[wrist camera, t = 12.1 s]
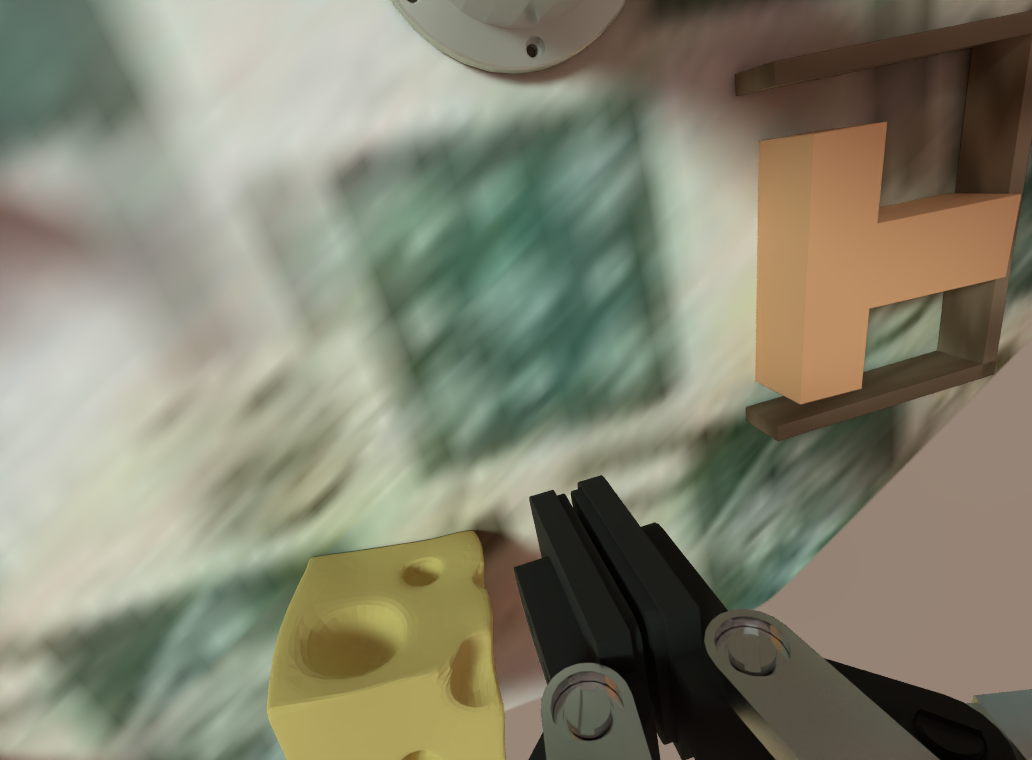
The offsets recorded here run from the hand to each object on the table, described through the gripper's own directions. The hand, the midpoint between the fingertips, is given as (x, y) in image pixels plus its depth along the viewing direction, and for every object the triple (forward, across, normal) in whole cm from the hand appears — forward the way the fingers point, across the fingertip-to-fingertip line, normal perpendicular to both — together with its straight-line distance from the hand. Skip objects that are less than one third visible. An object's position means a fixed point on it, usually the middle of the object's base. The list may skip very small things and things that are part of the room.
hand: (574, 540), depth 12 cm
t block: (+18, -24, +1) cm, 30 cm away
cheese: (+18, +8, +16) cm, 26 cm away
